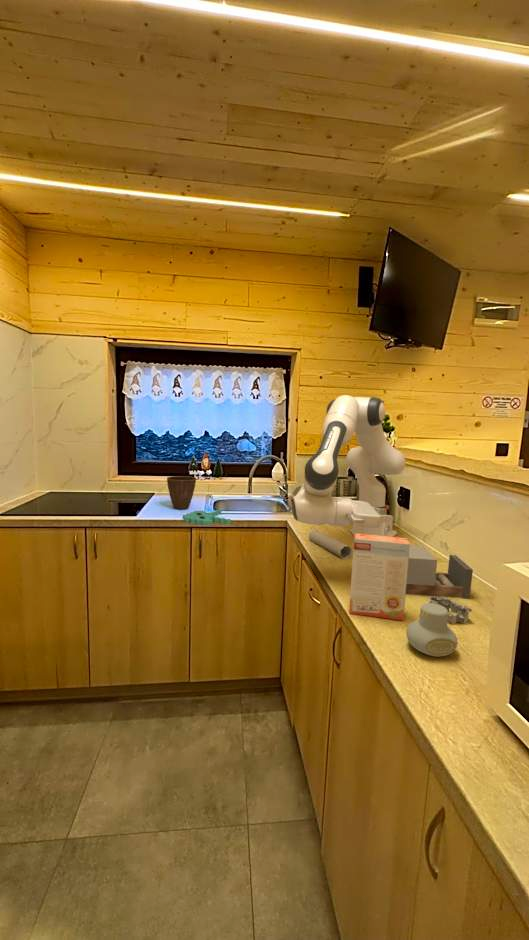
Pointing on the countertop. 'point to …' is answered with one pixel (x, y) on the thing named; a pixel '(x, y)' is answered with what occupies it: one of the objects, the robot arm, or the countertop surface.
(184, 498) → the plant pot
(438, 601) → the egg carton
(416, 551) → the grey cardboard box
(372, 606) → the cracker box
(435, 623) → the air freshener
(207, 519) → the alien figure
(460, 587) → the roller bed
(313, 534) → the tube
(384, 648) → the countertop surface
